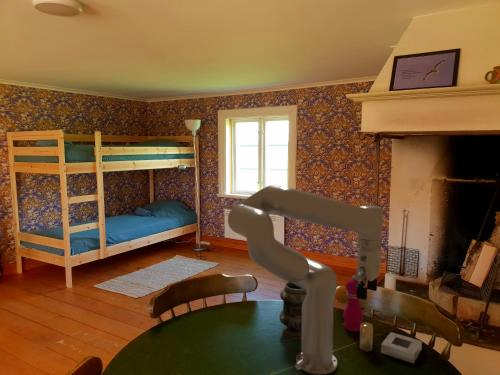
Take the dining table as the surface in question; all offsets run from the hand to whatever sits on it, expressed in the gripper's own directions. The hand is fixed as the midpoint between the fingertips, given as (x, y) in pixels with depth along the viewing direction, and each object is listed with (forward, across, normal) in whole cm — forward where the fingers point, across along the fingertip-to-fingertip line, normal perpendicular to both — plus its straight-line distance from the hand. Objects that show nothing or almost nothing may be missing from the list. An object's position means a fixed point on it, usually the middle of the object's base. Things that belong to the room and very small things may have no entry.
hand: (366, 294), depth 123 cm
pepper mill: (+18, +11, +8) cm, 23 cm away
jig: (+18, +5, -11) cm, 21 cm away
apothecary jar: (+19, -5, +24) cm, 31 cm away
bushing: (+18, 0, -1) cm, 18 cm away
